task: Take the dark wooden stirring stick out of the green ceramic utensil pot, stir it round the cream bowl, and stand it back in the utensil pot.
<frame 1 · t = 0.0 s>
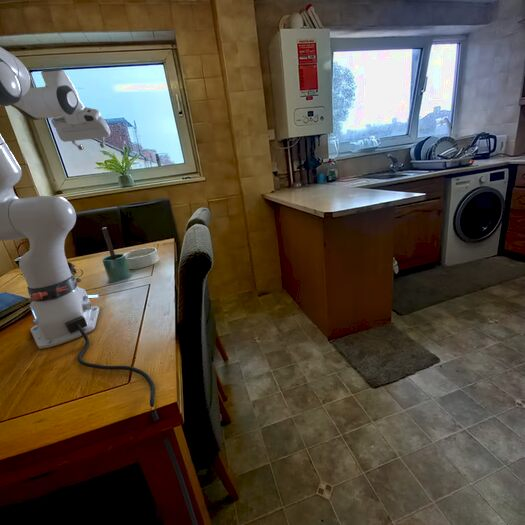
hand: (92, 148, 123), 54 cm above the table, tool tilted 30°, fingers open, 8 cm apart
stirring stick: (119, 277, 120), point 1 cm above the table, touching utensil pot
bowl: (142, 264, 136), on the table
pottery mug: (65, 277, 131), on the table
utensil pot: (120, 278, 121), on the table
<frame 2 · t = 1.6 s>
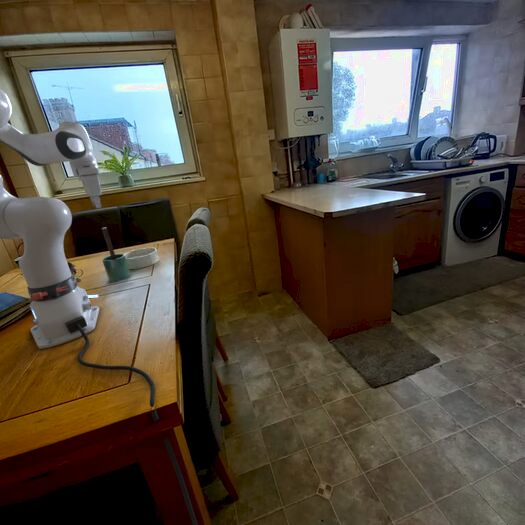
hand: (97, 206, 110), 31 cm above the table, tool pointing down, fingers open, 8 cm apart
nothing on the table moved.
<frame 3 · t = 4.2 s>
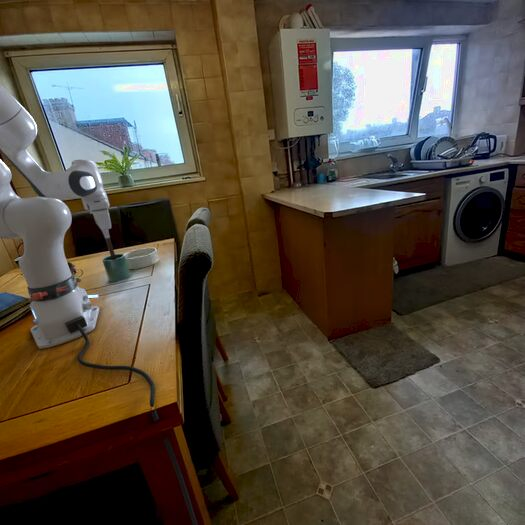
hand: (107, 237, 114), 19 cm above the table, tool pointing down, fingers closed on stirring stick, 2 cm apart
stirring stick: (119, 277, 120), point 1 cm above the table, touching gripper, utensil pot
everything else where it was.
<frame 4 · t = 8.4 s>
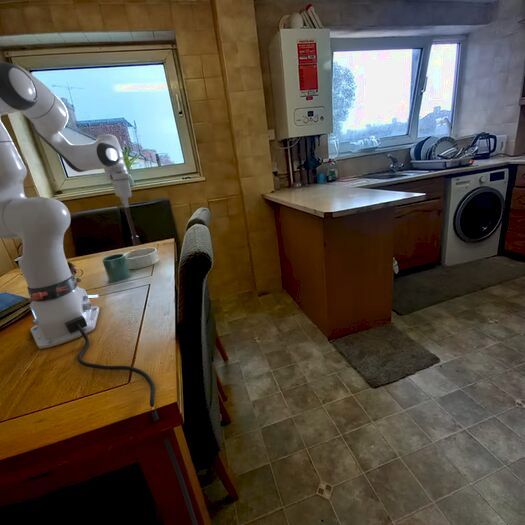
hand: (126, 207, 126), 28 cm above the table, tool pointing down, fingers closed on stirring stick
stirring stick: (137, 244, 133), point 10 cm above the table, touching gripper
everything else where it was.
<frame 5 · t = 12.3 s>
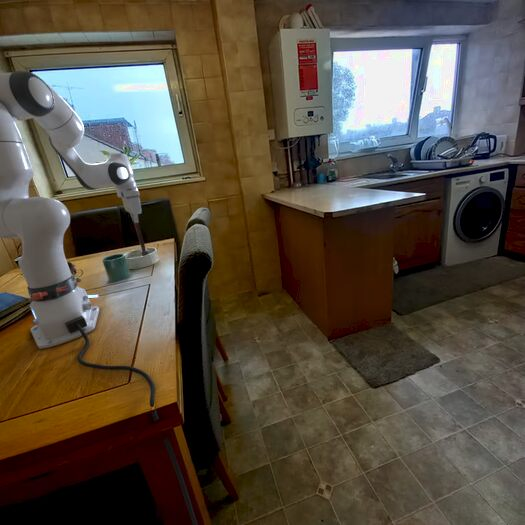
hand: (136, 222, 129), 21 cm above the table, tool pointing down, fingers closed on stirring stick, 2 cm apart
stirring stick: (146, 258, 136), point 3 cm above the table, touching gripper
everything else where it was.
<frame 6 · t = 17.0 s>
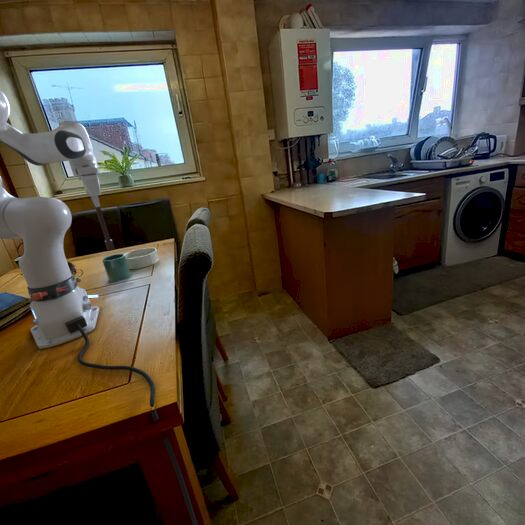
hand: (97, 206, 110), 31 cm above the table, tool pointing down, fingers closed on stirring stick
stirring stick: (111, 249, 116), point 13 cm above the table, touching gripper
everything else where it was.
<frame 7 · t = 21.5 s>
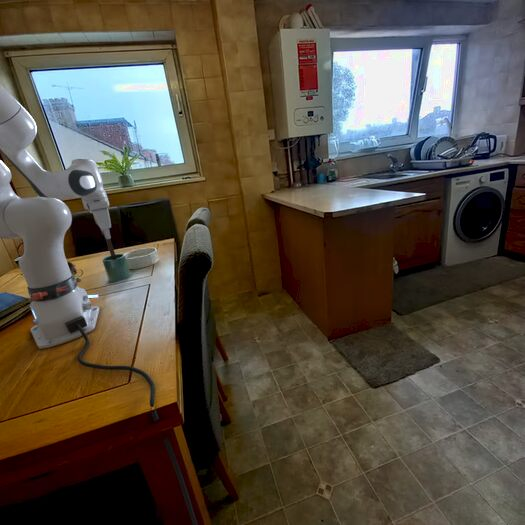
hand: (106, 236, 114), 19 cm above the table, tool pointing down, fingers open, 8 cm apart
stirring stick: (120, 277, 120), point 1 cm above the table, touching utensil pot
everything else where it was.
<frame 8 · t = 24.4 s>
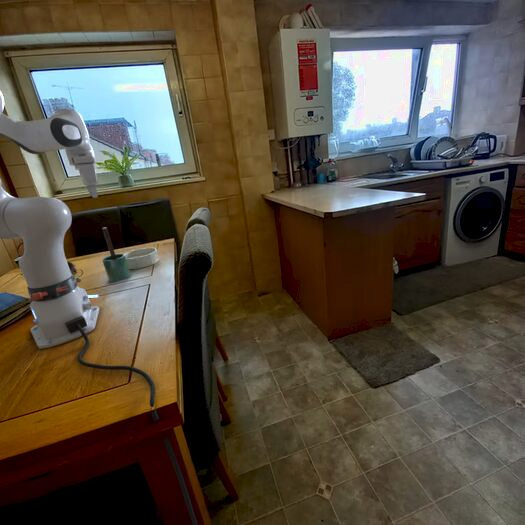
hand: (94, 197, 108), 35 cm above the table, tool pointing down, fingers open, 8 cm apart
nothing on the table moved.
at the end: stirring stick 0.1 cm off-centre in the utensil pot, point 0.6 cm above the utensil pot's base; stirring stick tilted 0°; the gripper is holding nothing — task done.
